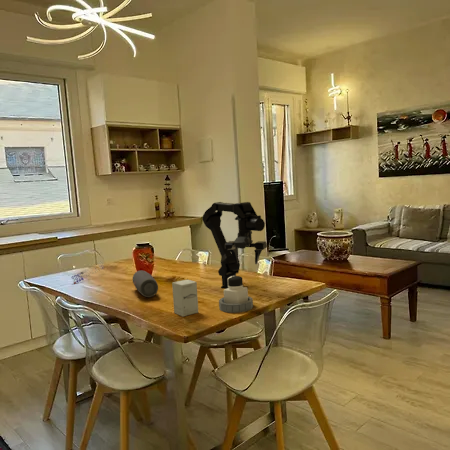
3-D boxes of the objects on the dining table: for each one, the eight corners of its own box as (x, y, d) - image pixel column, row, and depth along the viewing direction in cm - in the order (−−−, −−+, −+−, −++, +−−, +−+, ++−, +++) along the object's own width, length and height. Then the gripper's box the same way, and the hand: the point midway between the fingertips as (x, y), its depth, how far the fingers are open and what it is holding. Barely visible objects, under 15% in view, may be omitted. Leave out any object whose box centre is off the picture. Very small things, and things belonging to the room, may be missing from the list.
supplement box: (183, 317, 167) (180, 285, 166) (173, 312, 173) (171, 282, 172) (199, 312, 171) (197, 281, 170) (189, 308, 177) (187, 278, 176)
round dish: (213, 311, 172) (213, 303, 171) (227, 301, 184) (227, 294, 184) (245, 314, 166) (245, 305, 166) (257, 303, 178) (257, 296, 178)
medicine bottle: (248, 304, 176) (247, 275, 175) (238, 309, 171) (236, 279, 169) (234, 302, 181) (233, 274, 179) (224, 306, 175) (222, 277, 174)
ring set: (82, 289, 231) (73, 269, 230) (71, 292, 238) (61, 273, 237) (116, 270, 251) (107, 252, 250) (104, 274, 258) (96, 256, 257)
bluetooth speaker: (132, 290, 214) (130, 270, 213) (150, 287, 217) (149, 268, 216) (139, 301, 193) (137, 279, 192) (160, 298, 196) (158, 276, 195)
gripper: (218, 232, 192) (220, 266, 194) (258, 232, 184) (260, 268, 186) (228, 229, 202) (230, 261, 204) (266, 228, 194) (268, 262, 196)
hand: (246, 263), depth 197 cm, fingers open, 9 cm apart
